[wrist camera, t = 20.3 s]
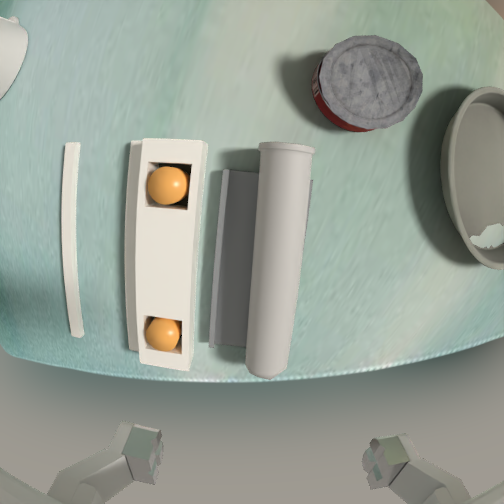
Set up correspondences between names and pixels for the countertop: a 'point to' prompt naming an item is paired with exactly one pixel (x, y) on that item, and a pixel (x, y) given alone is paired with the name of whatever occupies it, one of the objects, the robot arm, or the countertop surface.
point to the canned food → (367, 83)
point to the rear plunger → (164, 333)
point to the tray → (235, 258)
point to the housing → (147, 247)
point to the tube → (277, 254)
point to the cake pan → (476, 170)
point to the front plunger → (169, 185)
